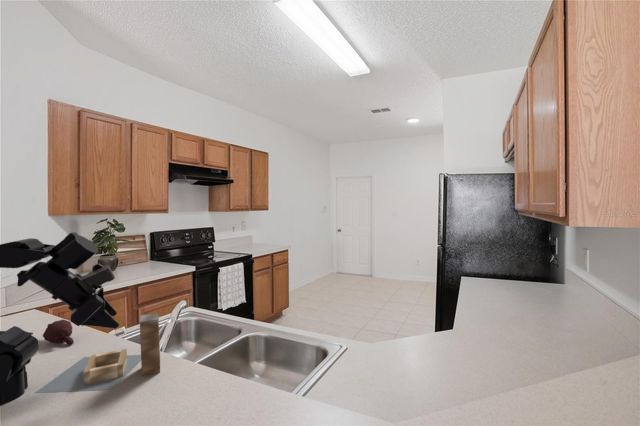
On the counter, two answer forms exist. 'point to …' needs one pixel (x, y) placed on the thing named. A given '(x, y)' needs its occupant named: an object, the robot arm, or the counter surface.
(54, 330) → the maroon bulbous piece
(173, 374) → the counter surface
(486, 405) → the counter surface
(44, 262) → the robot arm
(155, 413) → the counter surface
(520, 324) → the counter surface
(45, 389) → the board
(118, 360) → the socket
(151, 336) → the post
